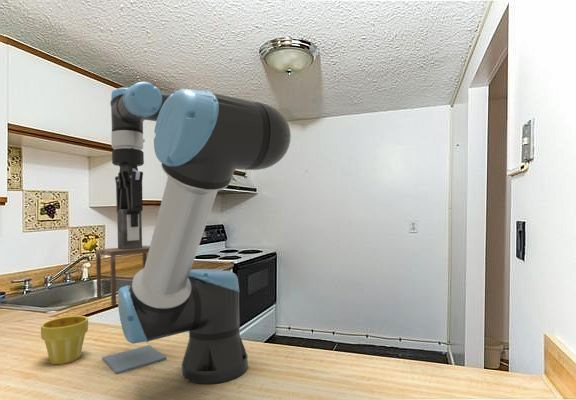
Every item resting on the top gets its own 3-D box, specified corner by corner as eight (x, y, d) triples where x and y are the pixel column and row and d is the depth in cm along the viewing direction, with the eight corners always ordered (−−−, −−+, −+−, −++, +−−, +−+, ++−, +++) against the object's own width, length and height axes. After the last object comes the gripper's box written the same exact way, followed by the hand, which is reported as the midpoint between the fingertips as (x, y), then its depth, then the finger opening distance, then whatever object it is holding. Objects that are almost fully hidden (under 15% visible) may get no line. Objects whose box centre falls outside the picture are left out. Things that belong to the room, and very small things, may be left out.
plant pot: (72, 367, 88) (72, 327, 89) (31, 368, 88) (30, 327, 89) (96, 351, 99) (95, 314, 99) (58, 351, 99) (58, 315, 99)
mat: (166, 359, 92) (166, 357, 92) (116, 374, 84) (116, 371, 84) (149, 346, 101) (149, 344, 101) (102, 359, 93) (102, 357, 93)
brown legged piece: (165, 296, 92) (163, 208, 93) (112, 306, 83) (110, 208, 84) (146, 290, 101) (144, 209, 102) (96, 298, 93) (95, 210, 94)
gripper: (155, 145, 90) (158, 239, 89) (130, 156, 103) (132, 238, 102) (124, 142, 85) (126, 242, 84) (102, 153, 98) (103, 240, 97)
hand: (129, 239), depth 93 cm, fingers closed on brown legged piece, 4 cm apart
